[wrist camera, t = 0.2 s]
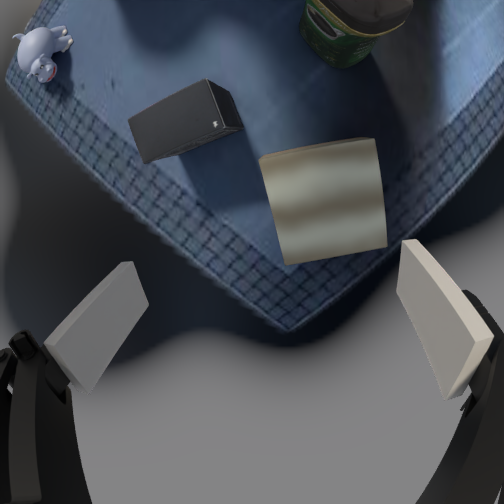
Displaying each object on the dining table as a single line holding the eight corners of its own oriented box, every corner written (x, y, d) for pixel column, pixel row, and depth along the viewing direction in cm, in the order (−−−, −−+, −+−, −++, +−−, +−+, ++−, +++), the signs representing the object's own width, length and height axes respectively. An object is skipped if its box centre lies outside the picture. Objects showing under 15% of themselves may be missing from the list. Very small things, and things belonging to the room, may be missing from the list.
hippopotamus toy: (50, 98, 34) (14, 100, 25) (32, 57, 29) (0, 56, 21) (83, 56, 30) (46, 51, 22) (61, 18, 26) (30, 11, 17)
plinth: (263, 155, 36) (258, 160, 30) (361, 136, 33) (374, 138, 27) (285, 246, 41) (284, 265, 36) (375, 230, 38) (387, 246, 33)
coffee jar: (376, 53, 27) (436, 7, 10) (334, 77, 29) (373, 34, 13) (332, 4, 24) (356, -67, 7) (289, 27, 27) (286, -44, 10)
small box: (229, 87, 32) (207, 74, 23) (245, 129, 34) (228, 129, 25) (163, 117, 35) (124, 117, 25) (178, 156, 37) (143, 167, 28)
